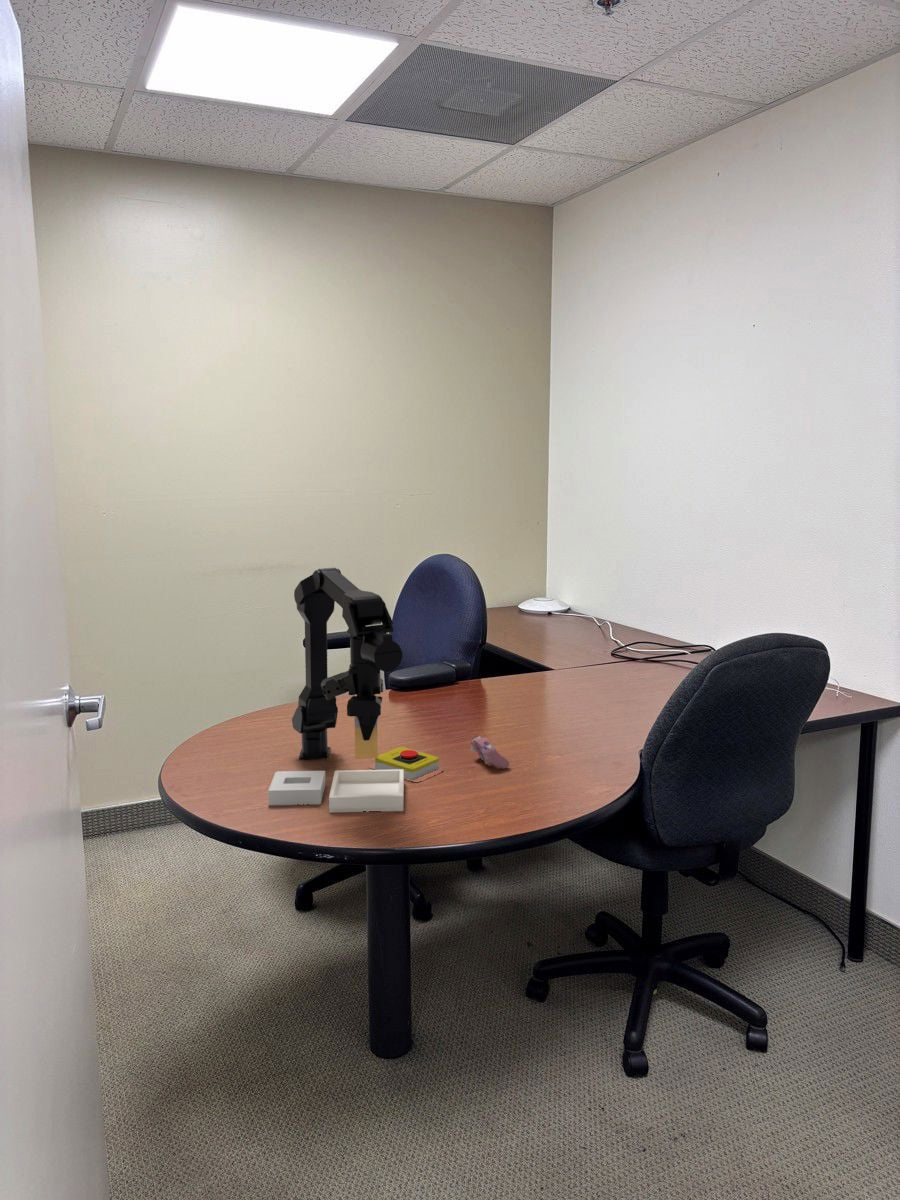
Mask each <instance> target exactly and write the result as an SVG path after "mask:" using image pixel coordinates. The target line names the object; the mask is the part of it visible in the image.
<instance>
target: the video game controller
mask: <svg viewBox="0 0 900 1200" xmlns="http://www.w3.org/2000/svg"><path fill="white" fill-rule="evenodd" d="M470 745H471V746H470V750H471V751H472V752H476V753H477V754H478V756H479V758H480V760H481V761H482V760H483V761H484V762H483V761H482V762H483V763H484V764H485V765H487V766H488V767H489V766H490V767H491V766H495V767H496V768H498V769H503V770H506V769H508V768H509V766H510V762H509V759H507V758H506V757H505V756H504V755H502V754H501V753H499V752H498V750H497V749H496V748H495V747H494V745H493V744H492V743H491V741H490V739H488V738H486V737H481V735H479V736H478V737H475V738H473V739H472V740H470ZM505 768H506V769H505Z"/></svg>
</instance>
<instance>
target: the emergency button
mask: <svg viewBox="0 0 900 1200" xmlns="http://www.w3.org/2000/svg"><path fill="white" fill-rule="evenodd" d="M374 763H375V768H374V769H377V770H393V769H404V778H405V779H409V780H415V779H418V778H419V777H422V776H424V775H426V774H429V773H431V772H433V771H436V770H438V769H439V768H440V764H439V756H435V755H432V754H428V753H426V752H422V751H419V750H415V749H411V748H407V747H405V746H400V747H397V748H394V749H391V750H389V751H385V752H384V753H381V754H378V758H377V759H374Z"/></svg>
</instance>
